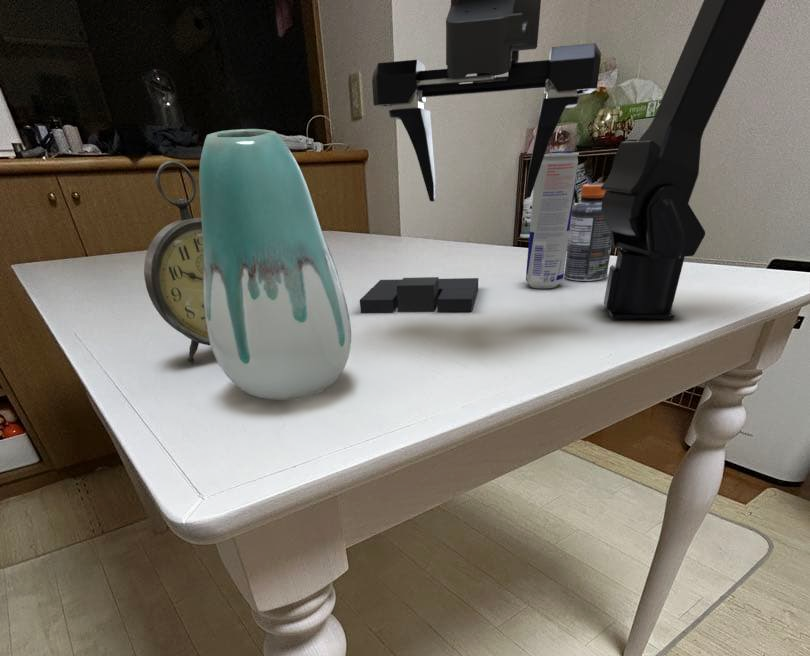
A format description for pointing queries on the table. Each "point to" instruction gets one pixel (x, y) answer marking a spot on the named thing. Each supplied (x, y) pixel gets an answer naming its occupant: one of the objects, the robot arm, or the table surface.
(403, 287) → the pad
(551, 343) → the table surface
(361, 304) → the base pad
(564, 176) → the beverage can
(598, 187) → the pill bottle
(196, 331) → the alarm clock
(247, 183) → the vase
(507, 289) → the table surface
